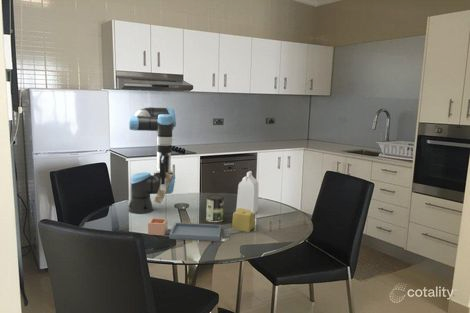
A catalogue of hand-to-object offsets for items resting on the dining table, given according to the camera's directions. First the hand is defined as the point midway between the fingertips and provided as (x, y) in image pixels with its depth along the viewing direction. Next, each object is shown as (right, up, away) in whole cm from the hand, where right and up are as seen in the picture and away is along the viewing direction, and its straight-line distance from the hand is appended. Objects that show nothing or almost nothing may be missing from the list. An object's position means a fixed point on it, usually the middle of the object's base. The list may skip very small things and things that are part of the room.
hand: (163, 189), depth 200 cm
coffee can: (+25, -21, +28) cm, 43 cm away
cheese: (+42, -24, +15) cm, 50 cm away
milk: (+45, -19, +48) cm, 68 cm away
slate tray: (+17, -24, +4) cm, 29 cm away
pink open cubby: (-4, -23, +4) cm, 24 cm away
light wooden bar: (-1, -8, +1) cm, 8 cm away
